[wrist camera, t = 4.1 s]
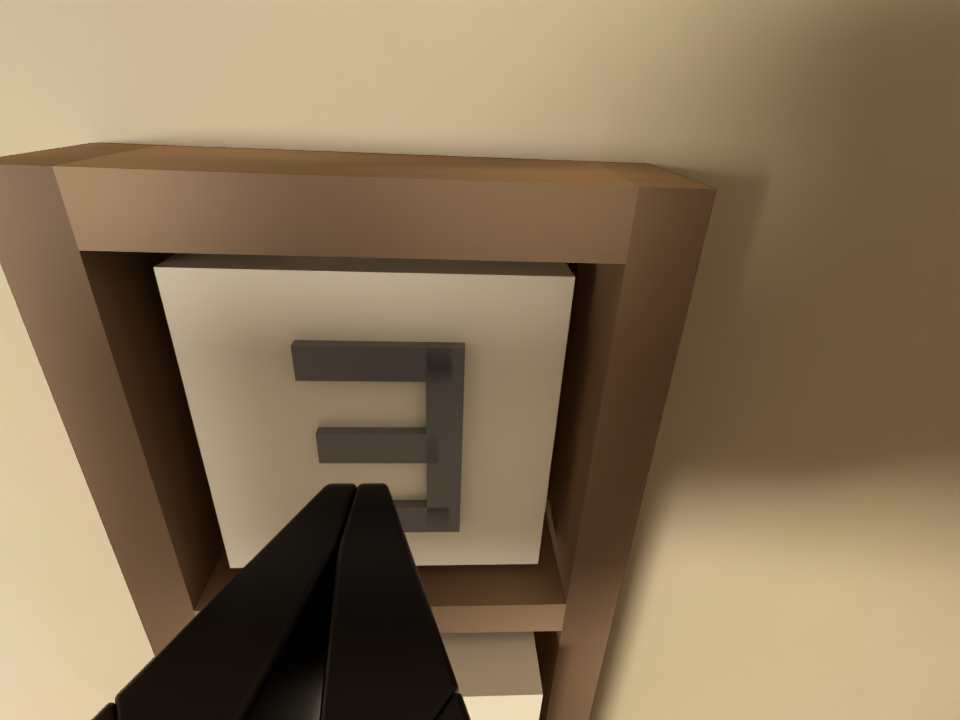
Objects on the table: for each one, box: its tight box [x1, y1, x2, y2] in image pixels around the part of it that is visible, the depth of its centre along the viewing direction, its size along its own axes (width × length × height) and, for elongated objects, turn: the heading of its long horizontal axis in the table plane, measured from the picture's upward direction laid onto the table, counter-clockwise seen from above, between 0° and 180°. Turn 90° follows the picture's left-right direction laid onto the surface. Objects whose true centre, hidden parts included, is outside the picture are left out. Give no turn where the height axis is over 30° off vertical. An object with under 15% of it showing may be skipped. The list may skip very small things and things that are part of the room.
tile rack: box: [0, 143, 716, 720], centre depth 13 cm, size 9×24×2 cm, turn 178°
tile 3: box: [153, 253, 575, 568], centre depth 9 cm, size 6×6×2 cm
